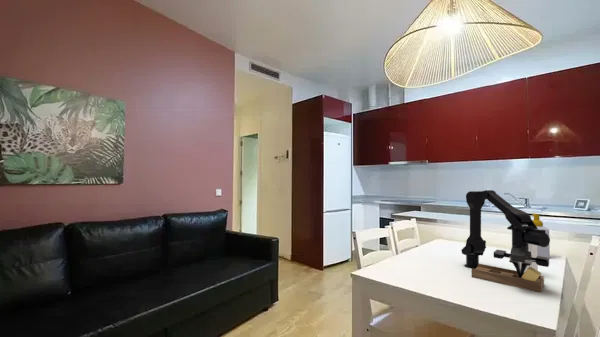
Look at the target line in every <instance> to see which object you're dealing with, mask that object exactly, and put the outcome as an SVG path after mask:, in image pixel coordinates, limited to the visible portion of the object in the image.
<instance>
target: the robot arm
mask: <svg viewBox="0 0 600 337" xmlns="http://www.w3.org/2000/svg"><path fill="white" fill-rule="evenodd" d="M465 199H466V204H467V206H468V207H469V236H468V237H467V239H466V240H465V245H464V247H462V249H461V250H460V251H461V254H462V255H465V258H466V259H465V262H466V263H465V264H463V267H467V268H470V269H476V268H477V267H478V264H480V261H479V260H480V256H483V255H484V253H485V251H486V249H487V246H486V245H487V244H486V243H487V242H486V240H484V239H483V237H482V208H483V207H484V205H485V202H486V201H488V202H490V203H491V204H492V205H493V206H494V207H496V208H497V210H499V211H500V212H501V213H503V215H504V217H505V219H506V220H507V221H508V222H509V224H510V225H509V226H507V228H506V230H509V231H510V230H511V248H510V253H507V251H506V250H503V249H496V250H495V251H493V258H495V259H500V260H502V259H504V258H507V259H508V258H509V263H511V264H513V266H514V268H515V271H517V273H518V275H519V277H520V278H522V276H523V273H524V271H525V268H526V267H527V265H529V266H530V265H531V264H532V262H536V264H537V265H538V266H541V267H546V268H548V267H549V266H550V258H547V257H542V256H537V257H536V258H534V257H532V256H531V252H530V251H529V244H533V245H537V246H541V247H547V246H548V245H549V246H550V242H551V238H550V235H549V236H548V235H547V234H546V233H545V230H539V229H538V228H537V227H536V225H535V224H534V222H533V221H532V220H533V219H532V217H531V215H530V214H529V213H527V212H526V211H524V210H522V209H519V208H517V207H514V206H513V205H512V204H510V202H507V200H505V199H504V198H502V196H500V195H499V194H498V193H497V192H496V191H495V190H493V189H491V190H490V189H489V190H487V189H486V190H482V191H481V190H479V191H477V190H473V191H472V190H471V191H468V192H467V193H466V194H465ZM528 243H529V244H528ZM520 262H521V270H520Z"/></svg>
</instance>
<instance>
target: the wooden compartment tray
mask: <svg viewBox="0 0 600 337" xmlns="http://www.w3.org/2000/svg"><path fill="white" fill-rule="evenodd" d="M524 273H525V272H524ZM524 273H523V274H524ZM471 278H475V279H479V280H484V281H488V282H493V283H496V284H499V285H500V284H501V285H506V286H509V287H515V288H518V289H523V290H527V291H533V292H536V293H540V292H541V293H543V292H542V291H543V288H544V286H545V276H544V275H542V274H541V275H540V276H539V278H538V279H537V280H536V281H530V280H525V279H523V278H520V277H519V275H518V273H517V270H516V269H515V270H514V269H509V268H503V267H498V266H492V265H488V264H483V263H479V264H478V267H477V268H476V269H475V268H471Z"/></svg>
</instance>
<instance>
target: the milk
mask: <svg viewBox="0 0 600 337" xmlns="http://www.w3.org/2000/svg"><path fill="white" fill-rule="evenodd" d="M528 244H529V243H528ZM529 251H530V252H531V256H532V257H534V258H536V257H537V245H533V244H529ZM530 266H531V267H532V268H534V269H536V270H537V271H539V270H538V266H539V265H537V264H536V262H532V264H531V265H530ZM530 266H529V265H527V267H526V268H525V271H524V272H526V270H527V269H528V268H529V267H530ZM520 270H521V262H520Z"/></svg>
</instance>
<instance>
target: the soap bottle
mask: <svg viewBox="0 0 600 337" xmlns="http://www.w3.org/2000/svg"><path fill="white" fill-rule="evenodd" d="M531 215H532V216H533V219H532V221H533V222H534V224H535V225H536V227H537V228H538V229H539V230H545V233H546V234H547V235H548V236H549V237H550V229H549V228H547V227H546V226H544V222H543V221H542V220H540V214H539V213H531ZM550 248H551V246H550V244H549V245H548V246H547V247H541V246H537V256H542V257H547V258H548V259H550V252H551V251H550Z"/></svg>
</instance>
